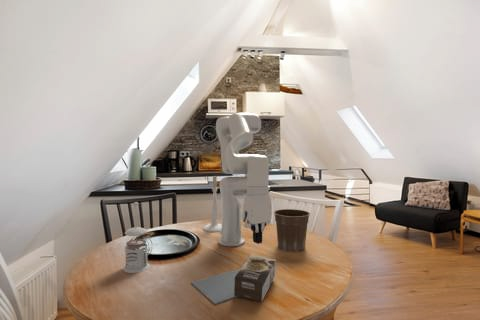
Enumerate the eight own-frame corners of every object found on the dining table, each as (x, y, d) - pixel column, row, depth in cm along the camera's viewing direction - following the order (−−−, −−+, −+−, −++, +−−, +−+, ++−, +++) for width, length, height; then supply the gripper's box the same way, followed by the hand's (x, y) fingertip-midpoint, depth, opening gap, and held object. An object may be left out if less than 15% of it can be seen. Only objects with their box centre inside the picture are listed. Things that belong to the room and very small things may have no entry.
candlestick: (225, 232, 158) (225, 176, 156) (202, 232, 157) (201, 176, 156) (226, 225, 170) (226, 174, 169) (204, 225, 170) (204, 174, 169)
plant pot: (279, 239, 145) (280, 207, 144) (312, 244, 138) (313, 210, 137) (268, 250, 130) (268, 214, 129) (304, 256, 123) (305, 218, 122)
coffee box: (276, 258, 100) (263, 282, 85) (275, 276, 101) (262, 303, 86) (250, 253, 103) (234, 276, 88) (250, 271, 104) (233, 296, 89)
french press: (135, 260, 118) (134, 199, 116) (159, 265, 113) (158, 201, 112) (116, 270, 108) (115, 203, 107) (142, 275, 104) (141, 205, 103)
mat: (191, 283, 98) (191, 282, 98) (237, 270, 109) (237, 269, 109) (214, 304, 85) (214, 303, 85) (264, 287, 95) (264, 286, 95)
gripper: (267, 187, 110) (267, 236, 111) (234, 191, 101) (234, 243, 102) (281, 190, 104) (280, 241, 104) (246, 194, 95) (246, 249, 96)
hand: (257, 242), depth 103 cm, fingers closed
